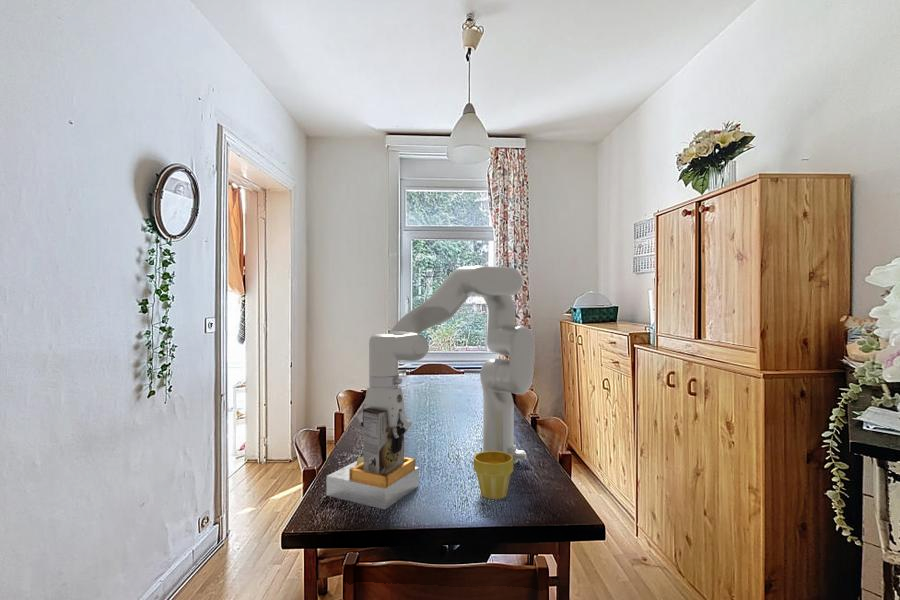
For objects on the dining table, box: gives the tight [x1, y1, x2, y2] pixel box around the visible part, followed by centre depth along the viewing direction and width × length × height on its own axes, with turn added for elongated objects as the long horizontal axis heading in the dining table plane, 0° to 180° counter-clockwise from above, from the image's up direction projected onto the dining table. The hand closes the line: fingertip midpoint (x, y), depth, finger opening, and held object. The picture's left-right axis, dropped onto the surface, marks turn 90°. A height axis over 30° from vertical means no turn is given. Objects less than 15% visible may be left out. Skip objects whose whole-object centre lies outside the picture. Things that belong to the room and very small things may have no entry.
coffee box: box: [362, 408, 405, 474], centre depth 124 cm, size 9×6×16 cm
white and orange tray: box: [326, 456, 420, 510], centre depth 125 cm, size 18×16×8 cm
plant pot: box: [473, 451, 515, 500], centre depth 123 cm, size 10×10×10 cm
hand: (383, 449), depth 124 cm, fingers closed on coffee box, 7 cm apart
